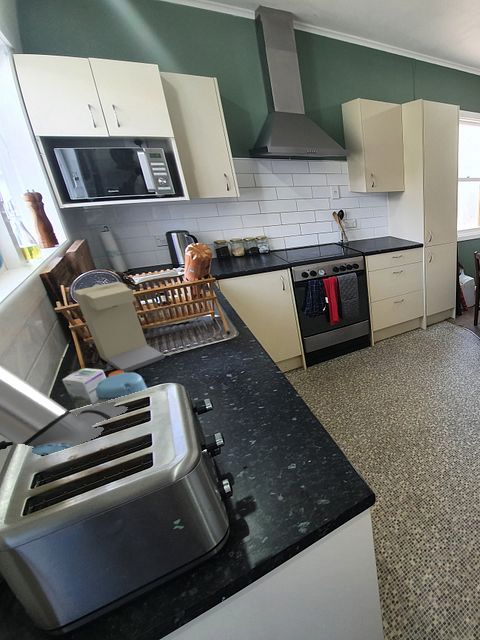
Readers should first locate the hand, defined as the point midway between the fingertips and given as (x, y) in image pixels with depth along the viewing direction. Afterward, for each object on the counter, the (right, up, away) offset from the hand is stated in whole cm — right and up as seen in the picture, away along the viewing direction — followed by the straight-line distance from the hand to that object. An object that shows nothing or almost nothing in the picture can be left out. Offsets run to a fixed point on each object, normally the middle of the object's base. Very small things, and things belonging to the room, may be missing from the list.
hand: (87, 390), depth 92 cm
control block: (-4, -2, +15) cm, 16 cm away
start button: (-4, +1, +14) cm, 15 cm away
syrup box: (+3, -8, +2) cm, 9 cm away
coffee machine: (-13, +5, +29) cm, 32 cm away
